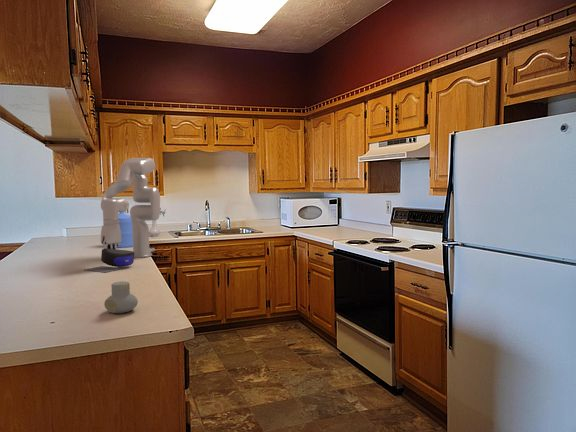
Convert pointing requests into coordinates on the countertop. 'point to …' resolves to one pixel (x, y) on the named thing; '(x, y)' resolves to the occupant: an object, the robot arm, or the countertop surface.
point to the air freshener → (120, 298)
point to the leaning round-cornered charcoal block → (117, 257)
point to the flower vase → (155, 227)
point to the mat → (103, 269)
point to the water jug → (125, 230)
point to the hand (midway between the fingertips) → (112, 256)
